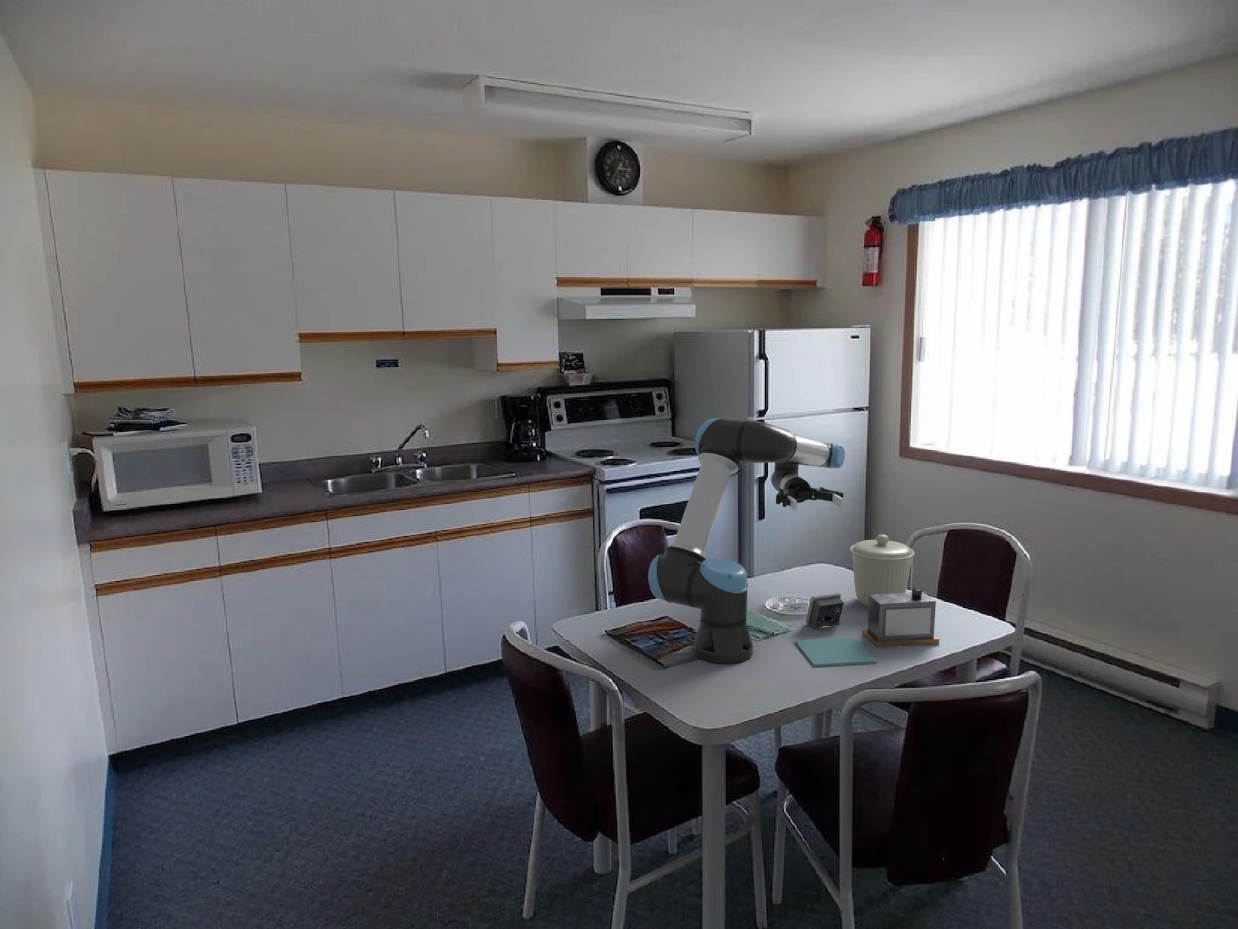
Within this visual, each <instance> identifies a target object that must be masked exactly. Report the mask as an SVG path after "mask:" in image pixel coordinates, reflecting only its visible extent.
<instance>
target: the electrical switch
mask: <svg viewBox="0 0 1238 929" xmlns="http://www.w3.org/2000/svg"><path fill="white" fill-rule="evenodd" d="M841 597H842V595H841V593H839V592H834V593H826V594H821V595H820V594H819V595H813V596H811V597H810V599H809V605H808V609H807V613H806V618H805V620H804V621H805V622H804V623H806V625H807V626H812V627H813V629H815V630H817V629H816V628H818V629H821V628H820V627H823V626H830V627H835V626H834V625H836V626H839V625H840V621H841V617H842V612H843V610H844V604H845V602H844V600H842V598H841Z"/></svg>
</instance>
